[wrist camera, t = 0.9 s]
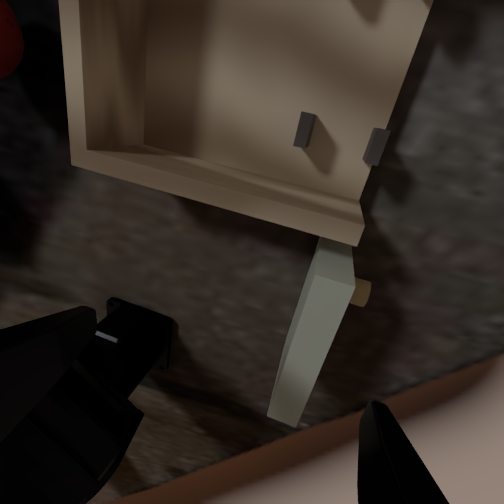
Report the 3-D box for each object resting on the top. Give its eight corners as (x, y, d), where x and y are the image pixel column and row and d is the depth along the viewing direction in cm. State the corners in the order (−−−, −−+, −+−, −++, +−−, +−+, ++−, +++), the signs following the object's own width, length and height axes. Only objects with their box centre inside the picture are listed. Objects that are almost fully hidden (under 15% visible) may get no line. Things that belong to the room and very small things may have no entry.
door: (322, 352, 23) (315, 435, 17) (285, 339, 24) (266, 415, 17) (369, 239, 19) (383, 295, 12) (323, 226, 19) (314, 274, 13)
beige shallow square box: (352, 211, 18) (356, 246, 13) (140, 154, 21) (71, 164, 15) (482, -143, 12) (601, -368, 6) (148, -164, 14) (32, -339, 9)
